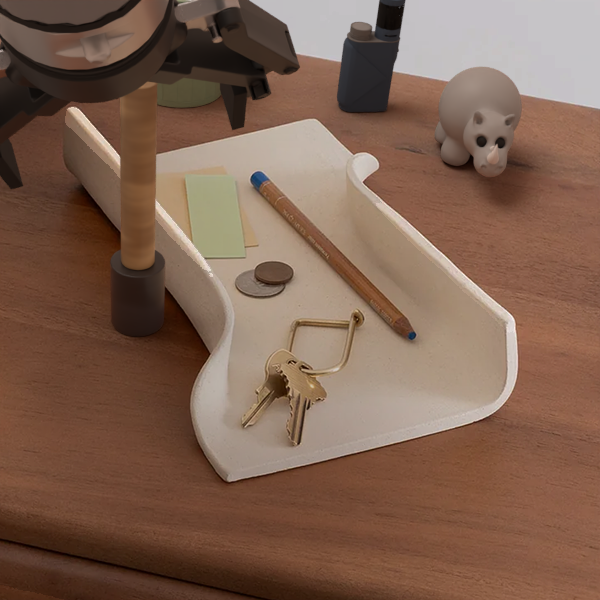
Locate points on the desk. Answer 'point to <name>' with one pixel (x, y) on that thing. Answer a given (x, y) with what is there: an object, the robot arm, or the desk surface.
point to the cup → (187, 91)
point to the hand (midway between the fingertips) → (123, 137)
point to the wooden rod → (138, 221)
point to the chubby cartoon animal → (478, 119)
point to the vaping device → (370, 60)
